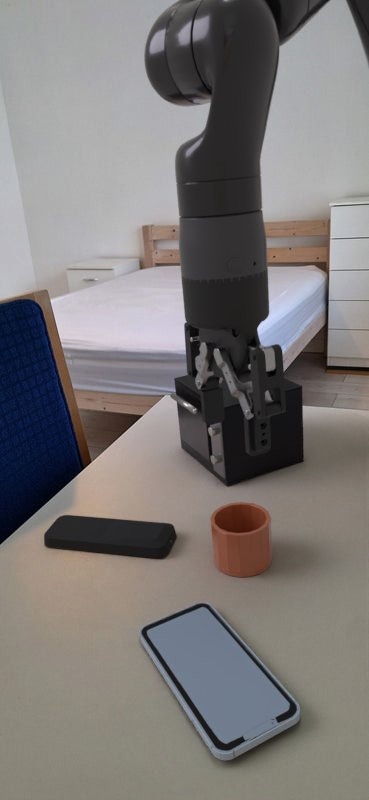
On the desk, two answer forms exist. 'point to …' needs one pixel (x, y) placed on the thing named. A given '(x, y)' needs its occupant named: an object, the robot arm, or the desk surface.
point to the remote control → (111, 536)
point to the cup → (241, 539)
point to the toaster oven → (238, 433)
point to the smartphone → (218, 680)
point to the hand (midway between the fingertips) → (234, 436)
